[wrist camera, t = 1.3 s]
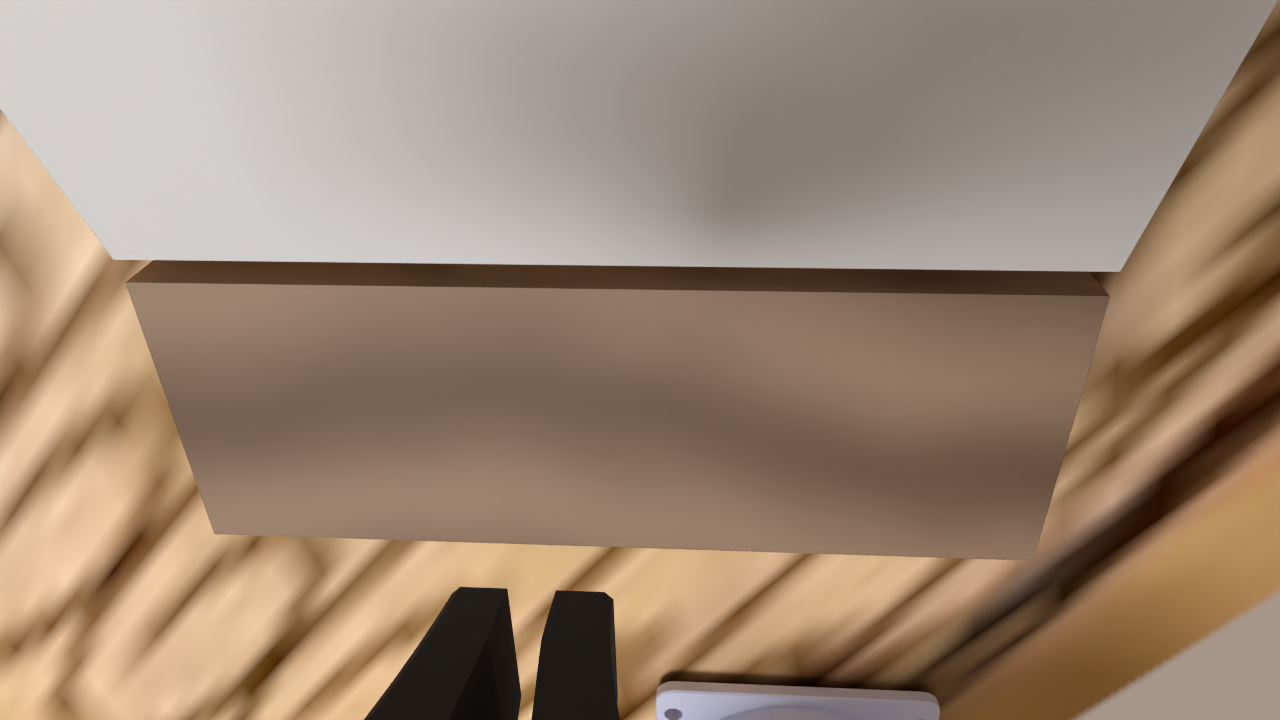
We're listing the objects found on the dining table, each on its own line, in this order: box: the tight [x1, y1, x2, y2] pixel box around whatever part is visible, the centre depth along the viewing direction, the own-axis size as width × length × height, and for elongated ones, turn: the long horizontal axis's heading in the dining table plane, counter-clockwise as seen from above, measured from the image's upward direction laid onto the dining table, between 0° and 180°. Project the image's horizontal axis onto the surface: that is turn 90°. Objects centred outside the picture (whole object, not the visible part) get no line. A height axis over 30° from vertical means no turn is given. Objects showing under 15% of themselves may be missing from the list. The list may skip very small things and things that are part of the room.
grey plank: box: [0, 0, 1278, 272], centre depth 15 cm, size 8×20×1 cm, turn 91°
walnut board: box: [125, 260, 1110, 561], centre depth 20 cm, size 7×20×1 cm, turn 91°
